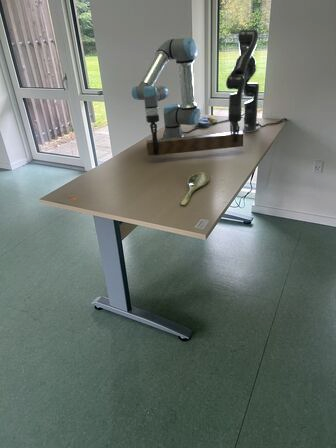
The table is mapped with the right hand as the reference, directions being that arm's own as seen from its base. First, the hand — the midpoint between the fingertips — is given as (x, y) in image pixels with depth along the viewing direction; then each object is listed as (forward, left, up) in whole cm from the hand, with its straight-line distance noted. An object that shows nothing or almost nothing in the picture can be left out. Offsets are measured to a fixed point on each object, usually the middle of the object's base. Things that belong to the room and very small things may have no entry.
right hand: (234, 140), depth 207 cm
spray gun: (-52, -52, -8) cm, 74 cm away
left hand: (+33, -36, -3) cm, 49 cm away
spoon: (+57, +7, -8) cm, 58 cm away
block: (+17, -18, -3) cm, 25 cm away
